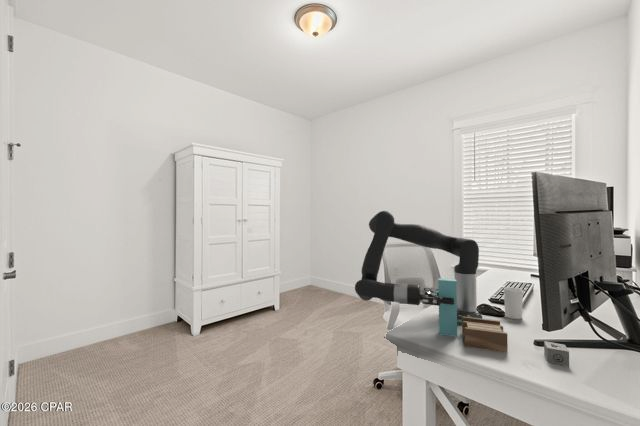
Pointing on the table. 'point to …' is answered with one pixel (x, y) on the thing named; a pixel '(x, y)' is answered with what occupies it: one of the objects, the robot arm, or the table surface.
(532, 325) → the table surface
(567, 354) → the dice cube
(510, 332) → the table surface
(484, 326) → the oak offcut middle
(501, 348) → the walnut rack
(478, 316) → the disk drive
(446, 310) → the teal board
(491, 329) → the oak offcut front
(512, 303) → the mug
